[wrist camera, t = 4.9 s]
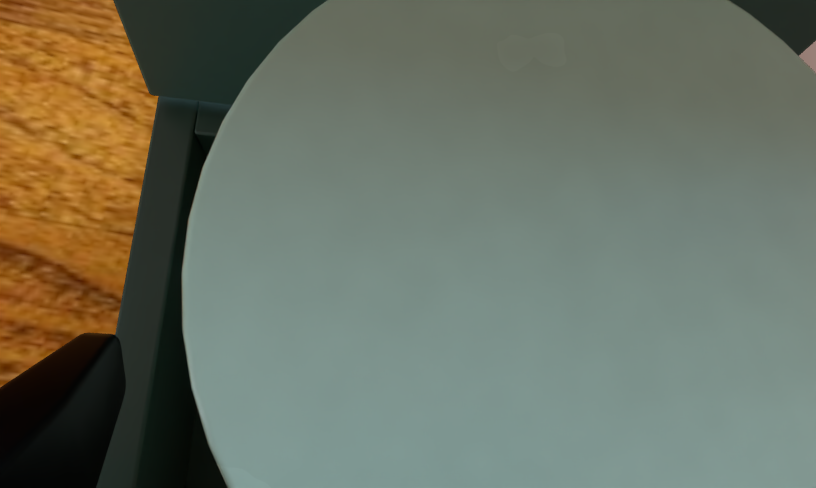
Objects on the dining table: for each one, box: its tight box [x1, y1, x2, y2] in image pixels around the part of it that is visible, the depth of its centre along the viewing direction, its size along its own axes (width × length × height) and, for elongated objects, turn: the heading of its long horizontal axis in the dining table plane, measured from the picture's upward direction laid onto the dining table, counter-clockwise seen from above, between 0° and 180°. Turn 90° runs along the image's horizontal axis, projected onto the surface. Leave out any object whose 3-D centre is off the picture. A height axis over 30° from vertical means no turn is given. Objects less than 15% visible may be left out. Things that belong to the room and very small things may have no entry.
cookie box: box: [96, 96, 232, 488], centre depth 14 cm, size 12×11×5 cm
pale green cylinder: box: [182, 0, 816, 488], centre depth 10 cm, size 6×6×12 cm
